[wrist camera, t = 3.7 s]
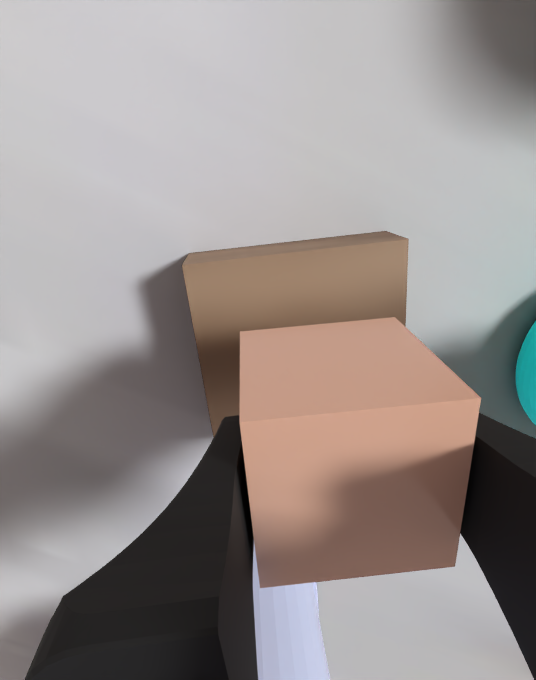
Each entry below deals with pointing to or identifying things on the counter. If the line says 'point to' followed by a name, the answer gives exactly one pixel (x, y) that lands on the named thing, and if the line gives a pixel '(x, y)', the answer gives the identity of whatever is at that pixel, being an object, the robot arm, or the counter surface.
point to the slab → (286, 297)
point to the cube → (352, 451)
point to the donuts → (527, 374)
